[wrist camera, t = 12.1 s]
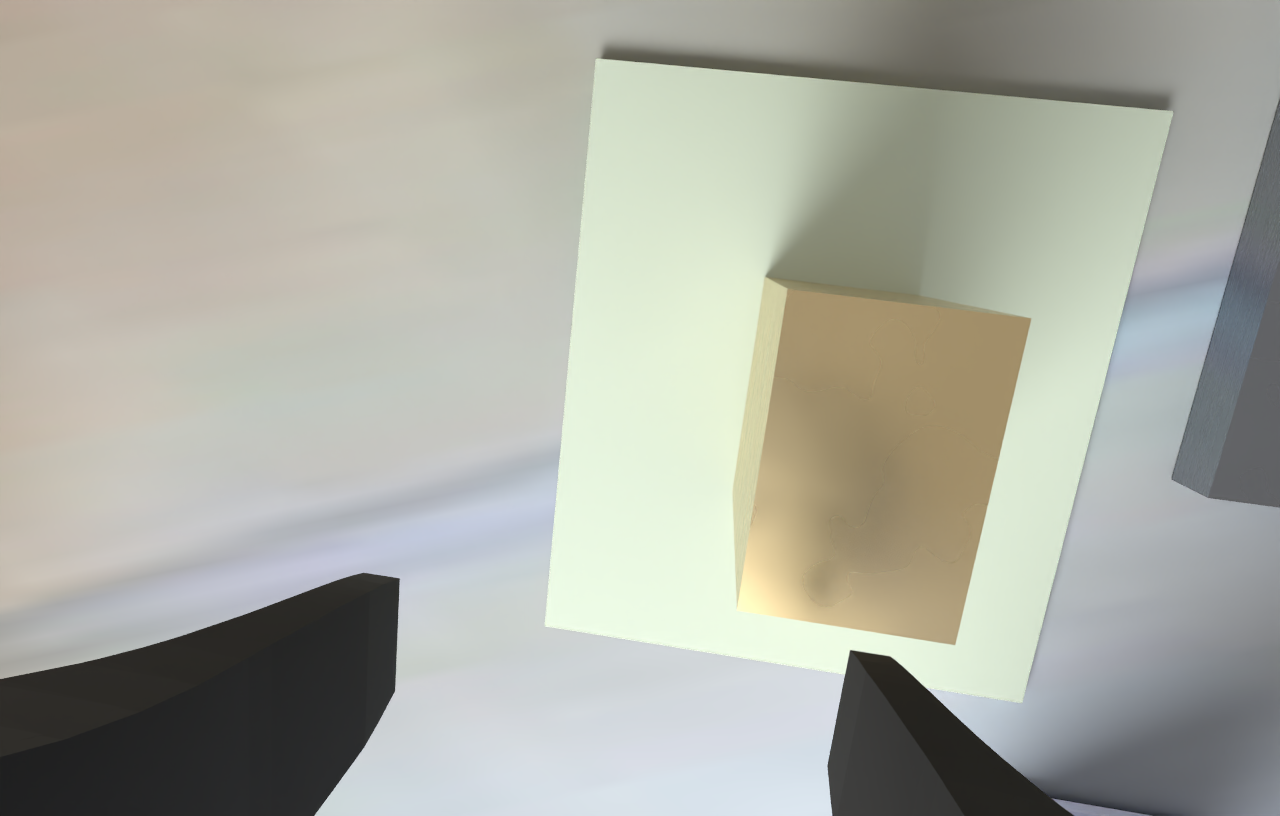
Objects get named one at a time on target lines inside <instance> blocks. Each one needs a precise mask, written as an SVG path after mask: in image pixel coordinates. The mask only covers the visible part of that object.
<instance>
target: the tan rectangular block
mask: <svg viewBox="0 0 1280 816" xmlns="http://www.w3.org/2000/svg"><path fill="white" fill-rule="evenodd" d="M1030 323H1031V318H1027V317H1023V316H1018V315H1013V314H1008V313H1003V312H998V311H993V310H989V309H984V308H979V307H974V306H969V305H964V304H959V303H955V302H950V301H945V300H940V299H935V298H930V297H925V296H921V295H913V294H905V293H896V292H888V291H880V290H871V289H863V288H854V287H846V286H838V285H829V284H821V283H813V282H804V281H796V280H788V279H779V278H771V277H765V278H764V284H763V291H762V298H761V304H760V311H759V318H758V324H757V331H756V338H755V344H754V351H753V357H752V364H751V371H750V377H749V384H748V391H747V397H746V404H745V411H744V417H743V424H742V431H741V437H740V444H739V451H738V457H737V464H736V471H735V477H734V484H733V491H732V496H733V522H734V548H735V574H736V601H737V611H743V612H750V613H756V614H762V615H768V616H775V617H781V618H787V619H794V620H800V621H806V622H812V623H819V624H825V625H831V626H838V627H844V628H850V629H856V630H863V631H869V632H875V633H881V634H888V635H894V636H900V637H907V638H913V639H919V640H925V641H932V642H938V643H944V644H951V645H955V644H956V640H957V636H958V632H959V627H960V623H961V619H962V614H963V610H964V606H965V602H966V597H967V593H968V589H969V584H970V580H971V576H972V572H973V567H974V563H975V559H976V554H977V550H978V546H979V542H980V537H981V533H982V529H983V524H984V520H985V516H986V512H987V507H988V503H989V499H990V494H991V490H992V486H993V481H994V477H995V473H996V469H997V464H998V460H999V456H1000V451H1001V447H1002V443H1003V439H1004V434H1005V430H1006V426H1007V421H1008V417H1009V413H1010V409H1011V404H1012V400H1013V396H1014V391H1015V387H1016V383H1017V379H1018V374H1019V370H1020V366H1021V361H1022V357H1023V353H1024V349H1025V344H1026V340H1027V336H1028V331H1029V327H1030Z"/></svg>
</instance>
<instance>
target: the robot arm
mask: <svg viewBox="0 0 1280 816" xmlns="http://www.w3.org/2000/svg"><path fill="white" fill-rule="evenodd" d="M399 580H400V579H399V578H393V577H387V576H380V575H374V574H368V573H361V574H357V575H353V576H350V577H346V578H343V579H340V580H337V581H334V582H331V583H329V584H326V585H323V586H320V587H318V588H315V589H312V590H310V591H307V592H304V593H302V594H299V595H296V596H294V597H291V598H288V599H286V600H283V601H280V602H278V603H275V604H272V605H270V606H267V607H264V608H262V609H259V610H256V611H254V612H251V613H248V614H245V615H242V616H239V617H236V618H233V619H231V620H228V621H225V622H222V623H219V624H216V625H213V626H210V627H207V628H204V629H201V630H198V631H195V632H192V633H189V634H186V635H183V636H180V637H177V638H174V639H170V640H167V641H164V642H160V643H157V644H153V645H150V646H146V647H143V648H139V649H136V650H132V651H128V652H124V653H120V654H116V655H112V656H108V657H105V658H101V659H97V660H92V661H88V662H84V663H79V664H74V665H69V666H64V667H59V668H54V669H49V670H44V671H39V672H34V673H29V674H24V675H19V676H14V677H9V678H4V679H0V816H314V815H315V814H316V812H317V811H318V810H319V808H320V807H321V806H322V804H323V803H324V802H325V800H326V799H327V798H328V796H329V795H330V794H331V792H332V791H333V789H334V788H335V787H336V785H337V784H338V783H339V781H340V780H341V778H342V777H343V776H344V774H345V773H346V772H347V770H348V769H349V767H350V766H351V765H352V763H353V762H354V761H355V759H356V758H357V756H358V755H359V754H360V752H361V751H362V749H363V748H364V746H365V745H366V743H367V741H368V740H369V738H370V736H371V734H372V733H373V731H374V729H375V727H376V726H377V724H378V722H379V720H380V718H381V716H382V715H383V713H384V711H385V709H386V707H387V705H388V703H389V701H390V699H391V697H392V696H393V694H394V692H395V678H396V653H397V629H398V605H399ZM828 775H829V786H830V797H831V806H832V815H833V816H1151V815H1145V814H1139V813H1134V812H1128V811H1122V810H1116V809H1110V808H1105V807H1099V806H1093V805H1087V804H1081V803H1075V802H1070V801H1064V800H1058V799H1052V798H1050V797H1049V796H1048V795H1046V794H1045V793H1044V792H1042V791H1041V790H1040V789H1039V788H1037V787H1036V786H1035V785H1034V784H1033V783H1031V782H1030V781H1029V780H1028V779H1027V778H1025V777H1024V776H1023V775H1022V774H1021V773H1019V772H1018V771H1017V770H1016V769H1014V768H1013V767H1012V766H1011V765H1010V764H1008V763H1007V762H1006V761H1005V760H1004V759H1002V758H1001V757H1000V756H999V755H998V754H997V753H996V752H994V751H993V750H992V749H991V748H990V747H989V746H988V745H986V744H985V743H984V742H983V741H982V740H981V739H980V738H979V737H978V736H976V735H975V734H974V733H973V732H972V731H971V730H970V729H969V728H968V727H967V726H966V725H964V724H963V723H962V722H961V721H960V720H959V719H958V718H957V717H956V716H955V715H954V714H953V713H952V712H951V711H949V710H948V709H947V708H946V707H945V706H944V705H943V704H942V703H941V702H940V701H939V700H938V699H937V698H936V697H935V696H934V695H933V694H932V693H931V692H929V691H928V690H927V689H926V688H925V687H924V686H923V685H922V684H921V683H920V682H919V681H918V680H917V679H916V678H915V677H914V676H913V675H912V674H911V673H909V672H908V671H907V670H906V669H905V668H904V667H903V666H902V665H901V664H899V663H898V662H897V661H896V660H895V659H893V658H892V657H891V656H885V655H879V654H873V653H867V652H860V651H854V650H850V652H849V658H848V663H847V668H846V673H845V678H844V683H843V689H842V694H841V699H840V704H839V709H838V714H837V719H836V725H835V730H834V735H833V740H832V745H831V750H830V756H829V761H828Z"/></svg>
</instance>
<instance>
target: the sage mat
mask: <svg viewBox="0 0 1280 816" xmlns="http://www.w3.org/2000/svg"><path fill="white" fill-rule="evenodd" d="M1173 112H1174V111H1165V110H1154V109H1143V108H1132V107H1121V106H1110V105H1100V104H1089V103H1078V102H1067V101H1056V100H1045V99H1034V98H1023V97H1012V96H1001V95H991V94H980V93H969V92H958V91H947V90H936V89H925V88H914V87H903V86H892V85H882V84H871V83H860V82H849V81H838V80H827V79H816V78H805V77H794V76H783V75H773V74H762V73H751V72H740V71H729V70H718V69H707V68H696V67H685V66H674V65H664V64H653V63H642V62H631V61H620V60H609V59H598V58H596V62H595V74H594V85H593V96H592V107H591V118H590V129H589V140H588V151H587V162H586V173H585V184H584V195H583V207H582V218H581V229H580V240H579V251H578V262H577V273H576V284H575V295H574V306H573V317H572V328H571V340H570V351H569V362H568V373H567V384H566V395H565V406H564V417H563V428H562V439H561V450H560V461H559V473H558V484H557V495H556V506H555V517H554V528H553V539H552V550H551V561H550V572H549V583H548V594H547V606H546V617H545V626H547V627H553V628H559V629H565V630H571V631H578V632H584V633H590V634H596V635H602V636H609V637H615V638H621V639H627V640H633V641H640V642H646V643H652V644H658V645H664V646H670V647H677V648H683V649H689V650H695V651H701V652H708V653H714V654H720V655H726V656H732V657H739V658H745V659H751V660H757V661H763V662H770V663H776V664H782V665H788V666H794V667H801V668H807V669H813V670H819V671H825V672H831V673H838V674H844V675H845V673H846V668H847V663H848V658H849V652H850V650H854V651H860V652H867V653H873V654H879V655H885V656H891V657H892V658H893V659H895V660H896V661H897V662H898V663H899V664H901V665H902V666H903V667H904V668H905V669H906V670H907V671H908V672H909V673H911V674H912V675H913V676H914V677H915V678H916V679H917V680H918V681H919V682H920V683H921V684H922V685H923V686H924V687H925V688H931V689H937V690H943V691H949V692H955V693H962V694H968V695H974V696H980V697H986V698H993V699H999V700H1005V701H1011V702H1017V703H1022V701H1023V698H1024V694H1025V690H1026V686H1027V682H1028V678H1029V674H1030V670H1031V666H1032V662H1033V658H1034V655H1035V651H1036V647H1037V643H1038V639H1039V635H1040V631H1041V627H1042V623H1043V619H1044V616H1045V612H1046V608H1047V604H1048V600H1049V596H1050V592H1051V588H1052V584H1053V580H1054V577H1055V573H1056V569H1057V565H1058V561H1059V557H1060V553H1061V549H1062V545H1063V541H1064V538H1065V534H1066V530H1067V526H1068V522H1069V518H1070V514H1071V510H1072V506H1073V502H1074V498H1075V495H1076V491H1077V487H1078V483H1079V479H1080V475H1081V471H1082V467H1083V463H1084V459H1085V456H1086V452H1087V448H1088V444H1089V440H1090V436H1091V432H1092V428H1093V424H1094V420H1095V417H1096V413H1097V409H1098V405H1099V401H1100V397H1101V393H1102V389H1103V385H1104V381H1105V378H1106V374H1107V370H1108V366H1109V362H1110V358H1111V354H1112V350H1113V346H1114V342H1115V338H1116V335H1117V331H1118V327H1119V323H1120V319H1121V315H1122V311H1123V307H1124V303H1125V299H1126V296H1127V292H1128V288H1129V284H1130V280H1131V276H1132V272H1133V268H1134V264H1135V260H1136V257H1137V253H1138V249H1139V245H1140V241H1141V237H1142V233H1143V229H1144V225H1145V221H1146V217H1147V214H1148V210H1149V206H1150V202H1151V198H1152V194H1153V190H1154V186H1155V182H1156V178H1157V175H1158V171H1159V167H1160V163H1161V159H1162V155H1163V151H1164V147H1165V143H1166V139H1167V136H1168V132H1169V128H1170V124H1171V120H1172V116H1173ZM765 277H771V278H779V279H788V280H796V281H804V282H813V283H821V284H829V285H838V286H846V287H854V288H863V289H871V290H880V291H888V292H896V293H905V294H913V295H921V296H925V297H930V298H935V299H940V300H945V301H950V302H955V303H959V304H964V305H969V306H974V307H979V308H984V309H989V310H993V311H998V312H1003V313H1008V314H1013V315H1018V316H1023V317H1027V318H1031V323H1030V327H1029V331H1028V336H1027V340H1026V344H1025V349H1024V353H1023V357H1022V361H1021V366H1020V370H1019V374H1018V379H1017V383H1016V387H1015V391H1014V396H1013V400H1012V404H1011V409H1010V413H1009V417H1008V421H1007V426H1006V430H1005V434H1004V439H1003V443H1002V447H1001V451H1000V456H999V460H998V464H997V469H996V473H995V477H994V481H993V486H992V490H991V494H990V499H989V503H988V507H987V512H986V516H985V520H984V524H983V529H982V533H981V537H980V542H979V546H978V550H977V554H976V559H975V563H974V567H973V572H972V576H971V580H970V584H969V589H968V593H967V597H966V602H965V606H964V610H963V614H962V619H961V623H960V627H959V632H958V636H957V640H956V644H955V645H951V644H944V643H938V642H932V641H925V640H919V639H913V638H907V637H900V636H894V635H888V634H881V633H875V632H869V631H863V630H856V629H850V628H844V627H838V626H831V625H825V624H819V623H812V622H806V621H800V620H794V619H787V618H781V617H775V616H768V615H762V614H756V613H750V612H743V611H737V601H736V574H735V548H734V522H733V496H732V491H733V484H734V477H735V471H736V464H737V457H738V451H739V444H740V437H741V431H742V424H743V417H744V411H745V404H746V397H747V391H748V384H749V377H750V371H751V364H752V357H753V351H754V344H755V338H756V331H757V324H758V318H759V311H760V304H761V298H762V291H763V284H764V278H765Z"/></svg>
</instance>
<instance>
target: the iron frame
mask: <svg viewBox="0 0 1280 816" xmlns="http://www.w3.org/2000/svg"><path fill="white" fill-rule="evenodd" d="M1172 480H1174V481H1176V482H1178V483H1180V484H1182V485H1184V486H1186V487H1188V488H1190V489H1192V490H1194V491H1196V492H1198V493H1200V494H1202V495H1204V496H1206V497H1208V498H1213V499H1221V500H1228V501H1236V502H1243V503H1250V504H1258V505H1265V506H1273V507H1280V102H1279V105H1278V109H1277V112H1276V116H1275V119H1274V123H1273V126H1272V130H1271V133H1270V137H1269V140H1268V144H1267V147H1266V151H1265V154H1264V158H1263V161H1262V165H1261V168H1260V172H1259V175H1258V179H1257V182H1256V186H1255V189H1254V193H1253V196H1252V200H1251V203H1250V207H1249V210H1248V214H1247V217H1246V221H1245V224H1244V228H1243V231H1242V235H1241V238H1240V242H1239V245H1238V249H1237V252H1236V256H1235V259H1234V263H1233V266H1232V270H1231V273H1230V277H1229V280H1228V284H1227V287H1226V291H1225V294H1224V298H1223V301H1222V305H1221V308H1220V312H1219V315H1218V319H1217V322H1216V326H1215V329H1214V333H1213V336H1212V340H1211V343H1210V347H1209V350H1208V354H1207V357H1206V361H1205V364H1204V368H1203V371H1202V375H1201V378H1200V382H1199V385H1198V389H1197V392H1196V396H1195V399H1194V403H1193V406H1192V410H1191V413H1190V417H1189V420H1188V424H1187V427H1186V431H1185V434H1184V438H1183V441H1182V445H1181V448H1180V452H1179V455H1178V459H1177V462H1176V466H1175V469H1174V473H1173V476H1172Z"/></svg>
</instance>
